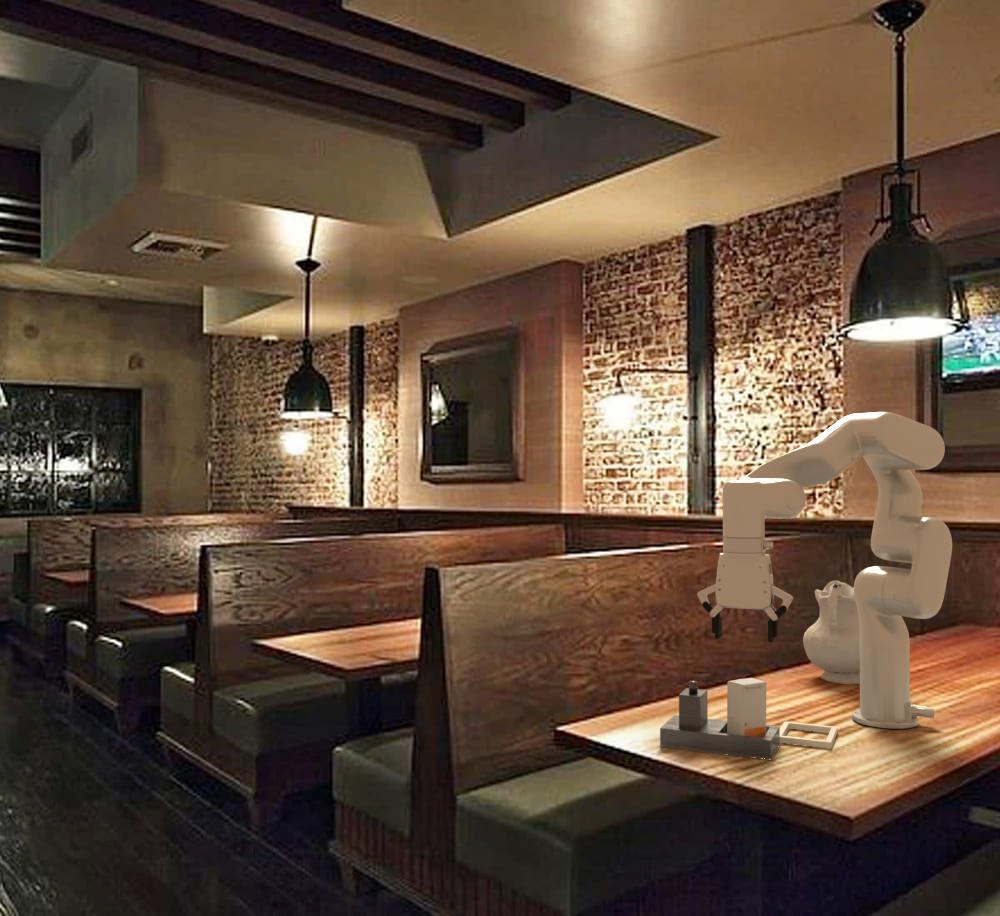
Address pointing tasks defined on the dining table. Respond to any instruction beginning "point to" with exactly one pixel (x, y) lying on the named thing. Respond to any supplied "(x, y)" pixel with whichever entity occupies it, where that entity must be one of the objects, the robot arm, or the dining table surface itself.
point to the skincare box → (746, 707)
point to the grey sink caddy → (712, 730)
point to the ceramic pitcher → (835, 635)
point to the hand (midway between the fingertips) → (744, 639)
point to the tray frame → (806, 741)
